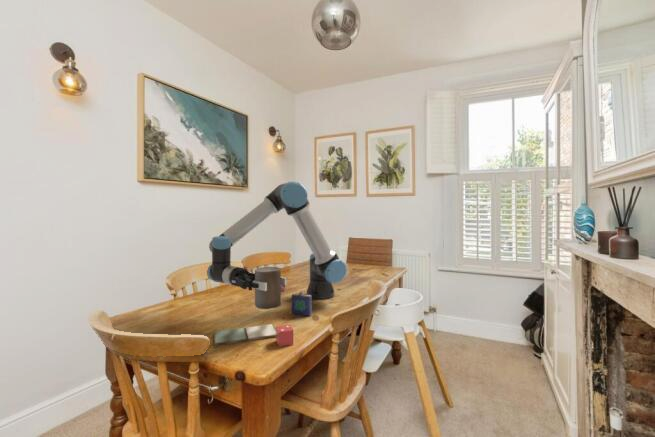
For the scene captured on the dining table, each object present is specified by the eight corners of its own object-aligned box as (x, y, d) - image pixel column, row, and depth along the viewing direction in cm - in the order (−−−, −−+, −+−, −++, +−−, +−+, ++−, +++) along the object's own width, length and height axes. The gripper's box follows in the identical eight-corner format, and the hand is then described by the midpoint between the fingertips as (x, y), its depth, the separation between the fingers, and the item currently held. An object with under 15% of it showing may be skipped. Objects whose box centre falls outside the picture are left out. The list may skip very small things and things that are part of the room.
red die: (289, 338, 109) (289, 324, 109) (293, 344, 104) (293, 329, 104) (276, 340, 107) (276, 326, 107) (278, 346, 102) (278, 331, 102)
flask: (312, 315, 134) (312, 290, 133) (310, 317, 131) (310, 292, 131) (292, 313, 136) (292, 289, 136) (290, 315, 133) (290, 291, 133)
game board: (273, 325, 121) (273, 323, 121) (278, 336, 110) (278, 334, 110) (214, 333, 113) (214, 331, 113) (214, 346, 103) (214, 343, 103)
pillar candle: (285, 303, 116) (285, 264, 116) (270, 310, 107) (270, 268, 107) (265, 300, 120) (265, 262, 120) (248, 307, 112) (248, 266, 111)
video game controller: (279, 289, 181) (273, 279, 181) (286, 286, 182) (280, 276, 181) (278, 294, 171) (272, 283, 171) (285, 290, 172) (279, 279, 171)
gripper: (256, 280, 133) (295, 288, 121) (212, 291, 115) (253, 301, 102) (256, 263, 133) (296, 269, 120) (212, 271, 115) (253, 279, 102)
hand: (276, 284), depth 111 cm, fingers closed on pillar candle, 9 cm apart
